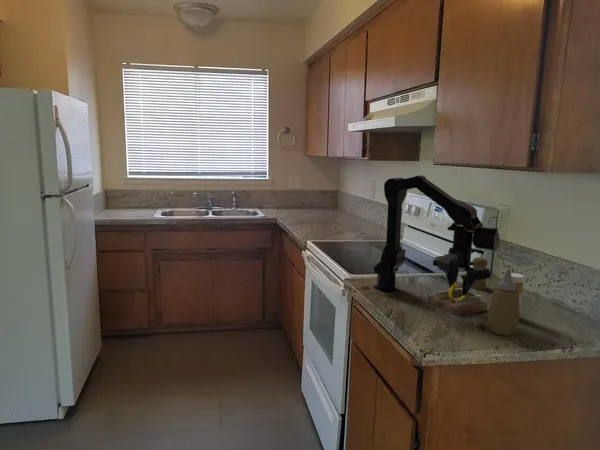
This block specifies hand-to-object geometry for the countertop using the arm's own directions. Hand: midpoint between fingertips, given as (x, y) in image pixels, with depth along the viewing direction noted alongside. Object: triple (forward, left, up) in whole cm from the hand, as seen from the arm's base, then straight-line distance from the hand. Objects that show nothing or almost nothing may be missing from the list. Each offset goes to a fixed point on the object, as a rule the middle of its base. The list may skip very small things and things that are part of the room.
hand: (458, 292), depth 144 cm
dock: (0, 0, -4) cm, 4 cm away
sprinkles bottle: (+14, +8, -5) cm, 17 cm away
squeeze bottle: (+20, -4, -5) cm, 21 cm away
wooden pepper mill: (-11, +22, -5) cm, 25 cm away
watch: (0, 0, -3) cm, 3 cm away
